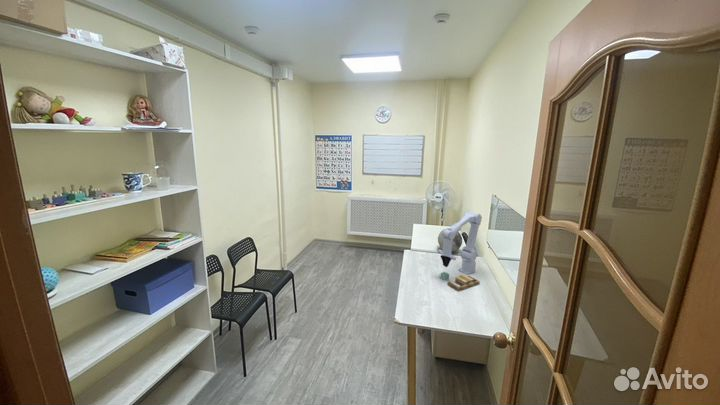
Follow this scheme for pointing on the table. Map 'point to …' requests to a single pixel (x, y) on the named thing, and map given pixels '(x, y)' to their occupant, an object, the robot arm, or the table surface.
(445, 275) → the teal block
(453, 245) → the moon model
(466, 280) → the oak slab
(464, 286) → the walnut frame
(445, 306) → the table surface
